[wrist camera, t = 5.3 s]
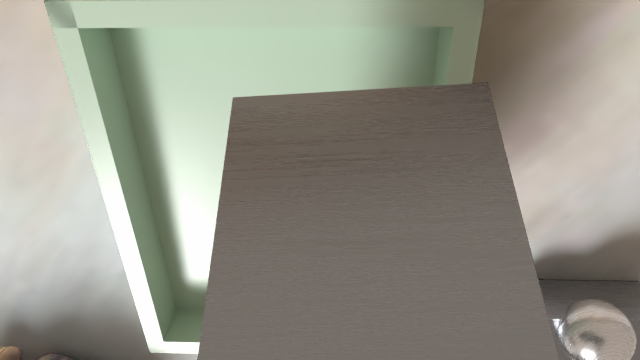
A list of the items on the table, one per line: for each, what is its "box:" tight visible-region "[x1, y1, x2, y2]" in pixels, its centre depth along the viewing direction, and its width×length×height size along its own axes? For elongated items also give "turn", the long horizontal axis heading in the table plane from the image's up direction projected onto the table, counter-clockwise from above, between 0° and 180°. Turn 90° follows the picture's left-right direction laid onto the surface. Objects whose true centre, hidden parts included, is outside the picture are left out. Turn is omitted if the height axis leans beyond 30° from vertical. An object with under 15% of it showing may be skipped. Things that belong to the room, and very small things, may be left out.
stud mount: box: [538, 280, 640, 360], centre depth 22 cm, size 5×6×4 cm
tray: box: [44, 0, 485, 354], centre depth 19 cm, size 16×13×3 cm
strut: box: [197, 82, 559, 360], centre depth 11 cm, size 12×4×4 cm, turn 5°
